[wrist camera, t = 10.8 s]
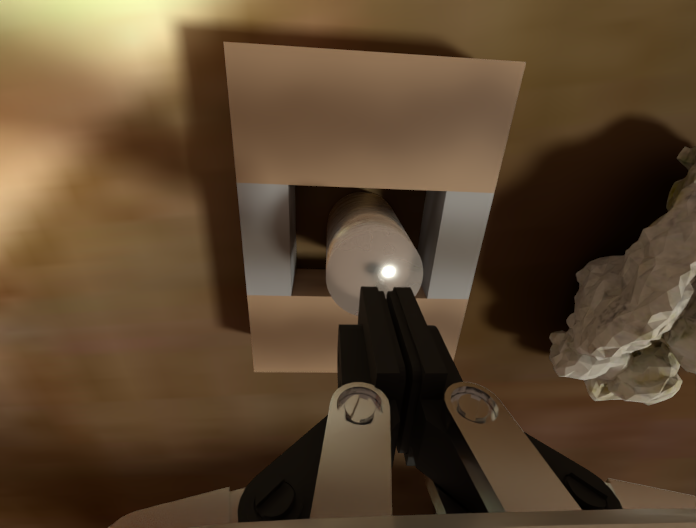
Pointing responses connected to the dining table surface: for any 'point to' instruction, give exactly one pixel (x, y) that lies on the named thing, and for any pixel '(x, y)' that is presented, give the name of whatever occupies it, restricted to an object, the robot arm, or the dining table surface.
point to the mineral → (638, 309)
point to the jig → (360, 175)
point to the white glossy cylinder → (368, 250)
